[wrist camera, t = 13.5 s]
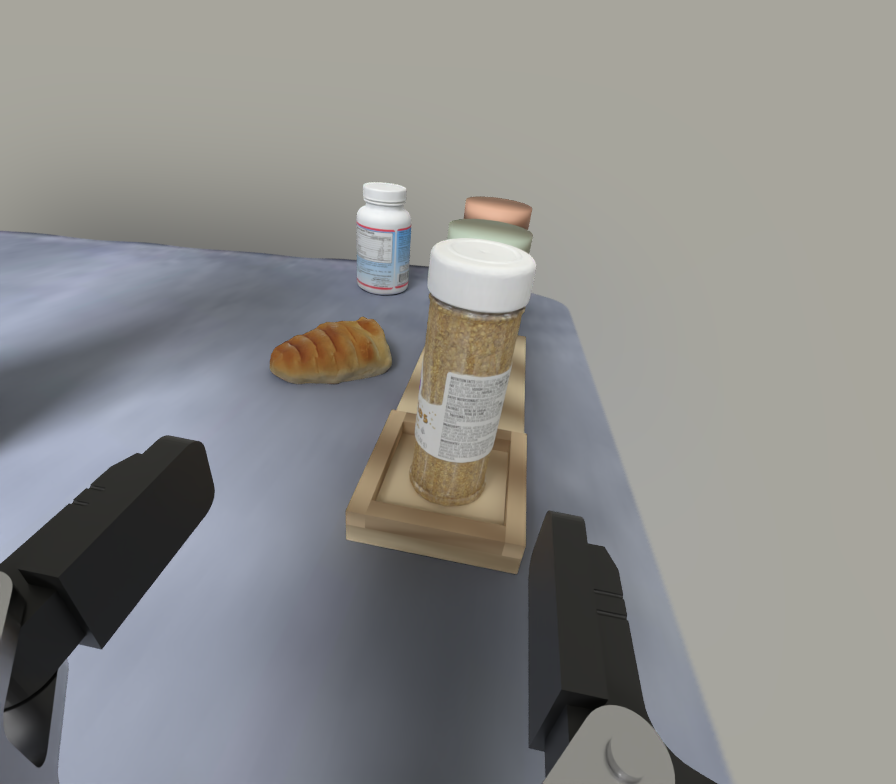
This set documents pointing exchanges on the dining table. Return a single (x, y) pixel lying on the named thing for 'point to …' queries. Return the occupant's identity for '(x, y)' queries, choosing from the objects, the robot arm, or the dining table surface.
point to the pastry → (333, 353)
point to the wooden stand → (504, 497)
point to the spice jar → (466, 363)
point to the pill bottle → (383, 239)
